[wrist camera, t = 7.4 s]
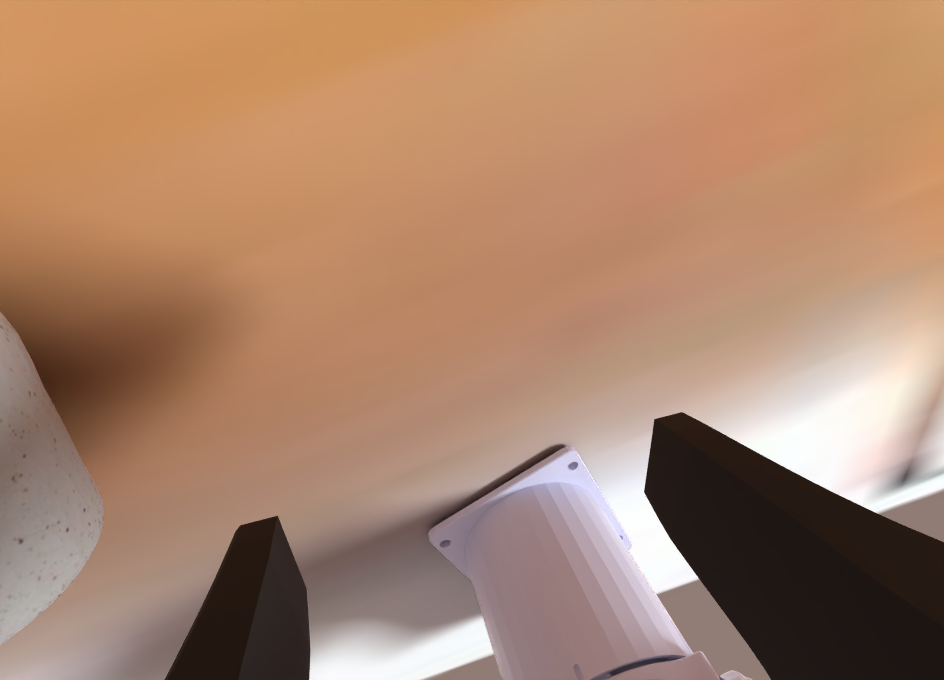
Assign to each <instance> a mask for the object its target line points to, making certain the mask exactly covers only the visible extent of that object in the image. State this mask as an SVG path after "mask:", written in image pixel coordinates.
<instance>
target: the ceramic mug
mask: <svg viewBox="0 0 944 680" xmlns="http://www.w3.org/2000/svg"><path fill="white" fill-rule="evenodd" d="M103 521H104V509H103V500H102V498H101V496H100V494H99V492H98V489H97V487H96V485H95V483H94V482H93V480H92V478H91V476H90V474H89V472H88V470H87V469H86V467H85V465H84V463H83V461H82V460H81V458H80V456H79V454H78V452H77V451H76V448H75V446H74V444H73V442H72V439H71V437H70V435H69V433H68V431H67V429H66V427H65V425H64V423H63V421H62V420H61V418H60V416H59V414H58V412H57V410H56V408H55V406H54V405H53V403H52V401H51V399H50V397H49V395H48V394H47V392H46V390H45V388H44V386H43V384H42V382H41V379H40V377H39V375H38V373H37V370H36V368H35V366H34V364H33V361H32V359H31V357H30V355H29V353H28V352H27V350H26V348H25V346H24V344H23V342H22V340H21V338H20V337H19V335H18V333H17V332H16V330H15V329H14V328H13V327H12V325H11V324H10V323H9V322H8V320H7V319H6V318H5V317H4V315H3V314H2V313H1V311H0V645H1V644H3V643H4V642H5V641H7V640H8V639H9V638H11V637H12V636H13V635H15V634H16V633H17V632H19V631H20V630H21V629H23V628H24V627H25V626H26V625H28V624H29V623H30V622H31V621H33V620H34V619H35V618H36V617H37V616H38V615H40V614H41V613H42V612H43V611H44V610H45V609H47V608H48V607H49V606H50V605H51V604H52V603H53V602H54V601H55V600H56V599H57V598H58V597H59V596H60V595H61V594H62V593H63V592H64V591H65V589H66V588H67V587H68V586H69V585H70V584H71V583H72V582H73V580H74V579H75V578H76V576H77V575H78V573H79V572H80V571H81V569H82V568H83V566H84V565H85V563H86V562H87V561H88V559H89V558H90V556H91V554H92V552H93V550H94V548H95V546H96V544H97V542H98V539H99V536H100V534H101V529H102V525H103Z"/></svg>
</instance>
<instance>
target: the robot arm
mask: <svg viewBox="0 0 944 680" xmlns="http://www.w3.org/2000/svg"><path fill="white" fill-rule="evenodd" d="M570 463H571V464H570ZM644 493H645V495H646V496H647V498H648V500H649V502H650V504H651V506H652V507H653V509H654V511H655V513H656V515H657V517H658V518H659V520H660V522H661V524H662V525H663V527H664V529H665V530H666V532H667V534H668V536H669V537H670V539H671V540H672V542H673V543H674V545H675V546H676V547H677V549H678V550H679V552H680V553H681V554H682V556H683V557H684V558H685V560H686V561H687V563H688V564H689V565H690V567H691V568H692V569H693V571H694V572H695V574H696V575H697V576H698V578H699V579H700V580H701V582H702V583H703V584H704V586H705V587H706V588H707V590H708V591H709V592H710V594H711V595H712V597H713V598H714V599H715V601H716V602H717V603H718V605H719V606H720V607H721V609H722V610H723V611H724V613H725V614H726V615H727V617H728V618H729V620H730V621H731V622H732V623H733V625H734V626H735V628H736V629H737V630H738V632H739V633H740V634H741V636H742V637H743V638H744V640H745V641H746V643H747V644H748V645H749V647H750V648H751V650H752V651H753V652H754V654H755V656H756V657H757V658H758V660H759V661H760V663H761V664H762V666H763V667H764V669H765V670H766V672H767V673H768V675H769V677H770V678H771V680H944V542H942V541H939V540H937V539H934V538H932V537H929V536H927V535H925V534H923V533H920V532H918V531H916V530H913V529H911V528H908V527H906V526H903V525H901V524H899V523H897V522H895V521H892V520H890V519H888V518H886V517H883V516H881V515H879V514H877V513H875V512H873V511H871V510H868V509H866V508H864V507H862V506H860V505H858V504H856V503H854V502H852V501H850V500H848V499H846V498H843V497H841V496H839V495H837V494H835V493H833V492H831V491H829V490H827V489H825V488H823V487H821V486H819V485H817V484H815V483H813V482H811V481H809V480H807V479H806V478H804V477H802V476H800V475H798V474H796V473H794V472H792V471H790V470H788V469H786V468H785V467H783V466H781V465H779V464H777V463H775V462H773V461H772V460H770V459H768V458H766V457H764V456H762V455H760V454H759V453H757V452H755V451H753V450H751V449H750V448H748V447H746V446H744V445H742V444H740V443H739V442H737V441H735V440H733V439H731V438H730V437H728V436H726V435H724V434H722V433H720V432H719V431H717V430H715V429H713V428H711V427H709V426H708V425H706V424H704V423H702V422H700V421H698V420H696V419H694V418H692V417H690V416H688V415H687V414H685V413H682V412H681V413H677V414H673V415H669V416H665V417H661V418H658V419H655V420H654V427H653V434H652V441H651V448H650V455H649V462H648V469H647V476H646V483H645V490H644ZM428 537H429V541H430V543H431V544H432V545H433V546H434V547H435V548H436V549H437V550H438V551H439V552H441V553H442V554H443V555H444V556H445V557H446V558H447V559H448V560H449V561H450V562H451V563H452V564H453V565H454V566H455V567H456V568H457V569H458V570H459V571H460V572H461V573H463V574H464V575H465V576H466V577H467V578H468V579H469V580H470V581H471V582H472V583H473V586H474V590H475V593H476V596H477V599H478V603H479V606H480V609H481V613H482V616H483V619H484V622H485V626H486V629H487V632H488V635H489V639H490V642H491V645H492V648H493V652H494V655H495V658H496V662H497V665H498V668H499V671H500V674H501V678H502V680H753V679H750V678H748V677H745V676H743V675H742V674H741V673H739V672H737V671H734V670H731V671H728V672H726V673H724V674H722V675H721V676H720V677H718V675H717V674H716V672H715V671H714V669H713V668H712V666H711V664H710V663H709V661H708V660H707V658H706V657H705V655H704V654H703V652H701V651H698V652H695V653H693V652H692V651H691V649H690V648H689V646H688V644H687V643H686V641H685V640H684V638H683V636H682V635H681V633H680V632H679V630H678V629H677V627H676V626H675V624H674V622H673V621H672V619H671V618H670V616H669V614H668V613H667V611H666V609H665V608H664V607H663V605H662V603H661V602H660V600H659V599H658V597H657V595H656V594H655V592H654V590H653V589H652V587H651V586H650V584H649V582H648V581H647V579H646V578H645V576H644V574H643V573H642V571H641V570H640V568H639V567H638V565H637V563H636V562H635V560H634V559H633V557H632V555H631V554H630V552H629V551H628V550H629V549H630V548H631V545H632V543H631V541H630V539H629V537H628V536H627V534H626V532H625V531H624V529H623V527H622V526H621V524H620V522H619V521H618V519H617V517H616V516H615V514H614V512H613V511H612V509H611V507H610V506H609V504H608V502H607V501H606V499H605V497H604V496H603V494H602V492H601V491H600V489H599V487H598V486H597V484H596V482H595V481H594V479H593V477H592V476H591V474H590V472H589V471H588V469H587V467H586V466H585V464H584V462H583V461H582V459H581V457H580V456H579V454H578V453H577V451H576V450H575V448H573V447H570V446H569V447H564V448H562V449H560V450H559V451H557V452H556V453H554V454H552V455H551V456H549V457H547V458H546V459H544V460H542V461H541V462H539V463H537V464H536V465H534V466H533V467H531V468H529V469H528V470H526V471H524V472H523V473H521V474H519V475H518V476H516V477H515V478H513V479H511V480H510V481H508V482H506V483H505V484H503V485H501V486H500V487H498V488H497V489H495V490H493V491H492V492H490V493H488V494H487V495H485V496H483V497H482V498H480V499H479V500H477V501H475V502H474V503H472V504H470V505H469V506H467V507H465V508H464V509H462V510H460V511H459V512H457V513H456V514H454V515H452V516H451V517H449V518H447V519H446V520H444V521H442V522H441V523H439V524H438V525H436V526H434V527H433V528H432V529H430V531H429V533H428ZM309 670H310V636H309V619H308V604H307V590H306V586H305V584H304V581H303V579H302V576H301V574H300V571H299V569H298V566H297V564H296V561H295V559H294V556H293V554H292V551H291V548H290V546H289V543H288V541H287V538H286V536H285V533H284V531H283V528H282V526H281V523H280V521H279V518H278V516H275V517H271V518H267V519H263V520H260V521H256V522H252V523H248V524H244V525H240V527H239V528H238V529H237V530H236V532H235V534H234V536H233V539H232V541H231V543H230V546H229V548H228V550H227V553H226V555H225V557H224V559H223V562H222V564H221V566H220V568H219V571H218V573H217V575H216V577H215V579H214V582H213V584H212V586H211V588H210V590H209V592H208V594H207V596H206V599H205V601H204V603H203V605H202V607H201V609H200V611H199V613H198V615H197V617H196V619H195V621H194V623H193V625H192V627H191V629H190V631H189V633H188V635H187V637H186V639H185V641H184V643H183V645H182V647H181V649H180V651H179V653H178V655H177V657H176V659H175V661H174V663H173V665H172V667H171V669H170V670H169V672H168V674H167V676H166V678H165V680H309Z"/></svg>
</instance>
